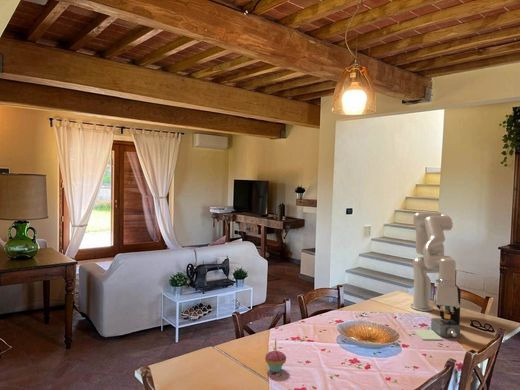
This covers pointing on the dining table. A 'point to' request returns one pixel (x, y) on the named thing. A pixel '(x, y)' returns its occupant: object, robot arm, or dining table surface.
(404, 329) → the dining table surface
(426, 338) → the mat
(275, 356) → the cupcake
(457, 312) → the wine bottle
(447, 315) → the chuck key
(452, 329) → the chuck block
